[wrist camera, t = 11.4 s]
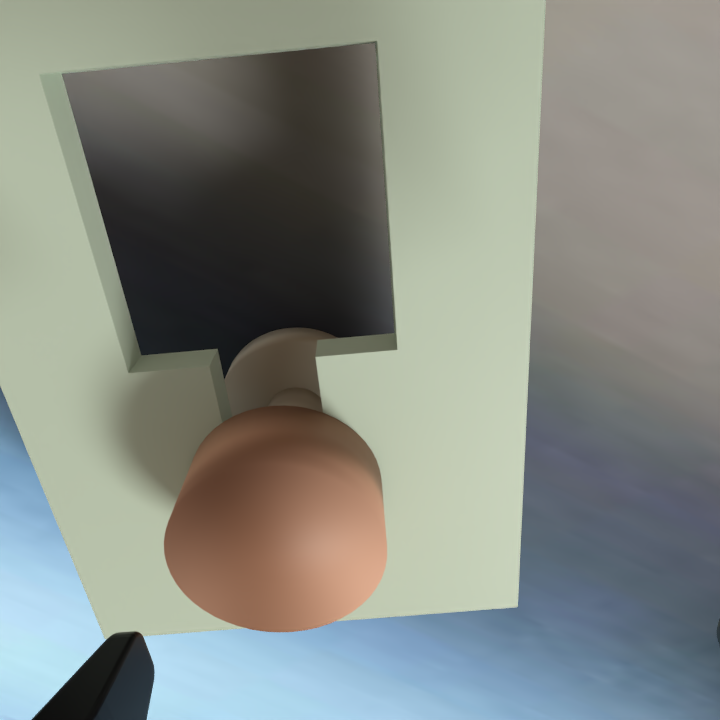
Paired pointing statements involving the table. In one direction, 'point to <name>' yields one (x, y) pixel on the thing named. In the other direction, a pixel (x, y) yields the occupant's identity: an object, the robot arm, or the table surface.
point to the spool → (279, 500)
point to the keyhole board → (333, 356)
